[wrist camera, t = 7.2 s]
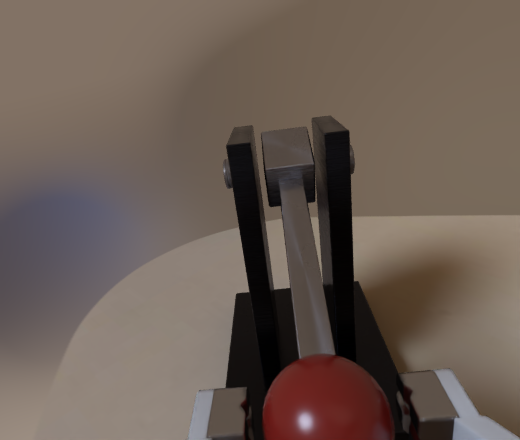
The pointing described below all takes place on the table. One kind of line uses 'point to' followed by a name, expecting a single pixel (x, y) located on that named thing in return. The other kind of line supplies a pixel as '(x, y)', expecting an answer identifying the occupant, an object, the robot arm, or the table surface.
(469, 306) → the table surface
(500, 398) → the table surface
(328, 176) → the bracket
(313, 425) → the lever
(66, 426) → the table surface
